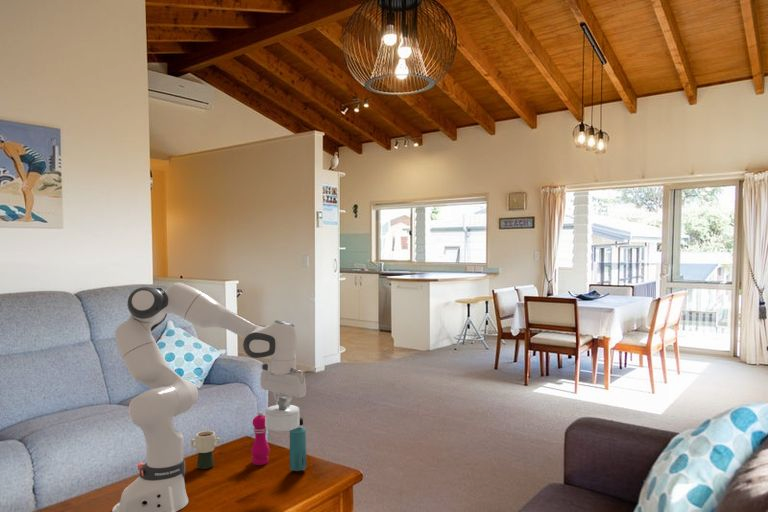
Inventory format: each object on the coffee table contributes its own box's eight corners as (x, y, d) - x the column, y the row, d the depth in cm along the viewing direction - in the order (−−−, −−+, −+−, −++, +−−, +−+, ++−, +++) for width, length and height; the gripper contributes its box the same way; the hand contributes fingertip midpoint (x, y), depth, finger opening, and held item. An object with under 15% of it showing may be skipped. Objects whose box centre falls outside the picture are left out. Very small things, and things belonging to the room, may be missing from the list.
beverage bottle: (303, 475, 192) (303, 421, 192) (286, 474, 193) (286, 420, 193) (309, 468, 198) (309, 416, 198) (292, 467, 200) (292, 415, 200)
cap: (260, 430, 178) (261, 401, 178) (271, 419, 189) (272, 392, 189) (293, 431, 176) (294, 403, 176) (302, 421, 188) (303, 394, 188)
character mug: (221, 462, 204) (221, 429, 204) (218, 470, 197) (218, 435, 197) (192, 464, 202) (192, 431, 202) (188, 472, 195) (188, 437, 195)
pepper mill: (250, 459, 207) (250, 409, 207) (268, 457, 209) (268, 408, 210) (251, 466, 200) (251, 414, 201) (270, 464, 203) (270, 413, 203)
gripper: (310, 369, 179) (310, 409, 179) (271, 361, 192) (270, 398, 191) (297, 372, 174) (296, 413, 174) (257, 364, 186) (257, 402, 186)
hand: (282, 405), depth 183 cm, fingers closed on cap, 3 cm apart
